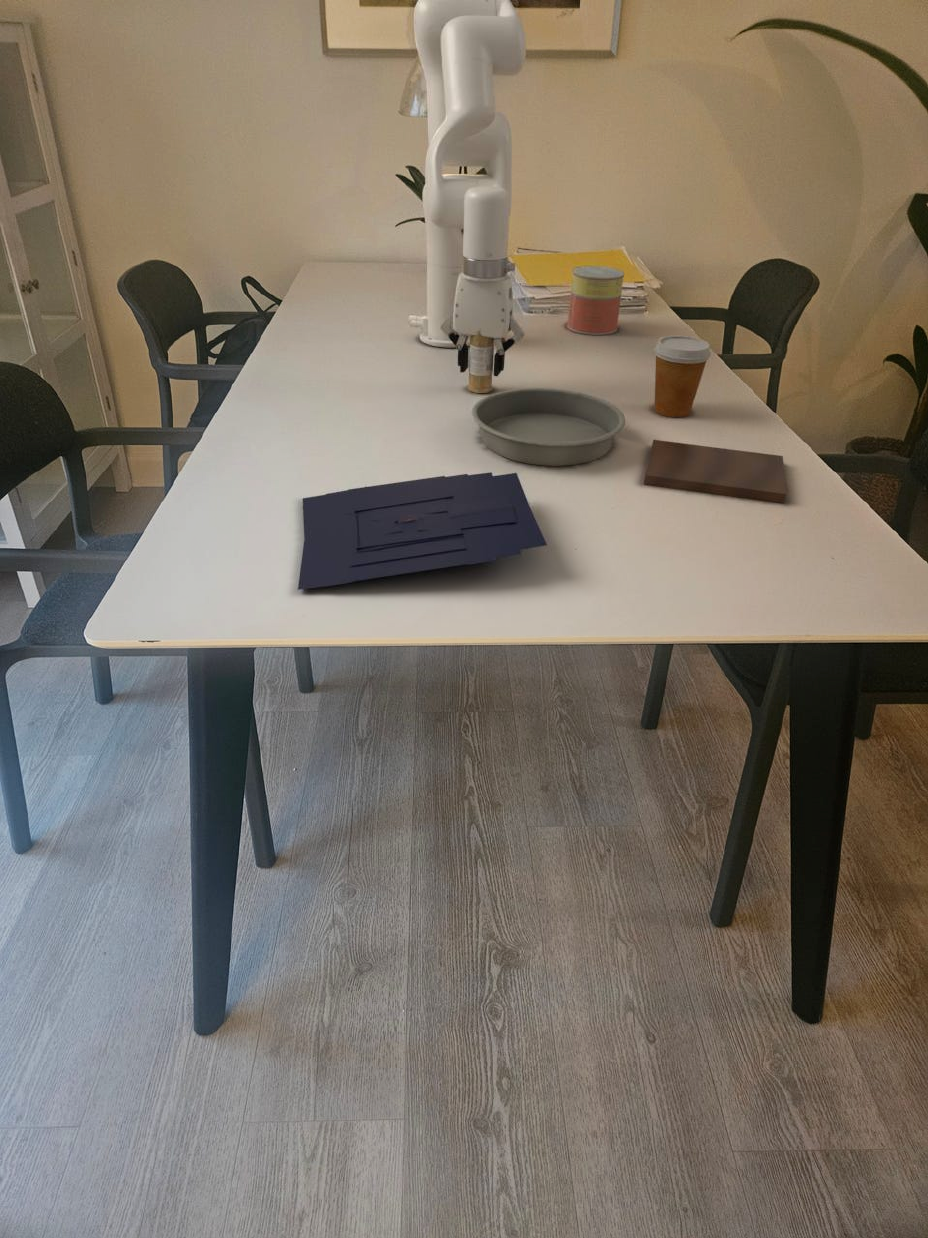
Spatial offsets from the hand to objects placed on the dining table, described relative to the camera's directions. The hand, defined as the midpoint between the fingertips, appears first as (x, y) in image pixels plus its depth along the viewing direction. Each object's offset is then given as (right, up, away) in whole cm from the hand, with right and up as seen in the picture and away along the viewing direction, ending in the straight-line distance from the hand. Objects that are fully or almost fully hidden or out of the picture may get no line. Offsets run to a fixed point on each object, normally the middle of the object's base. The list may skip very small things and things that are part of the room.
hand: (480, 371), depth 156 cm
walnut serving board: (+35, -23, -26) cm, 49 cm away
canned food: (+26, +21, +38) cm, 50 cm away
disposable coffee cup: (+34, -8, -4) cm, 35 cm away
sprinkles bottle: (0, -3, +2) cm, 4 cm away
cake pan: (+10, -16, -16) cm, 25 cm away
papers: (-9, -35, -45) cm, 57 cm away
